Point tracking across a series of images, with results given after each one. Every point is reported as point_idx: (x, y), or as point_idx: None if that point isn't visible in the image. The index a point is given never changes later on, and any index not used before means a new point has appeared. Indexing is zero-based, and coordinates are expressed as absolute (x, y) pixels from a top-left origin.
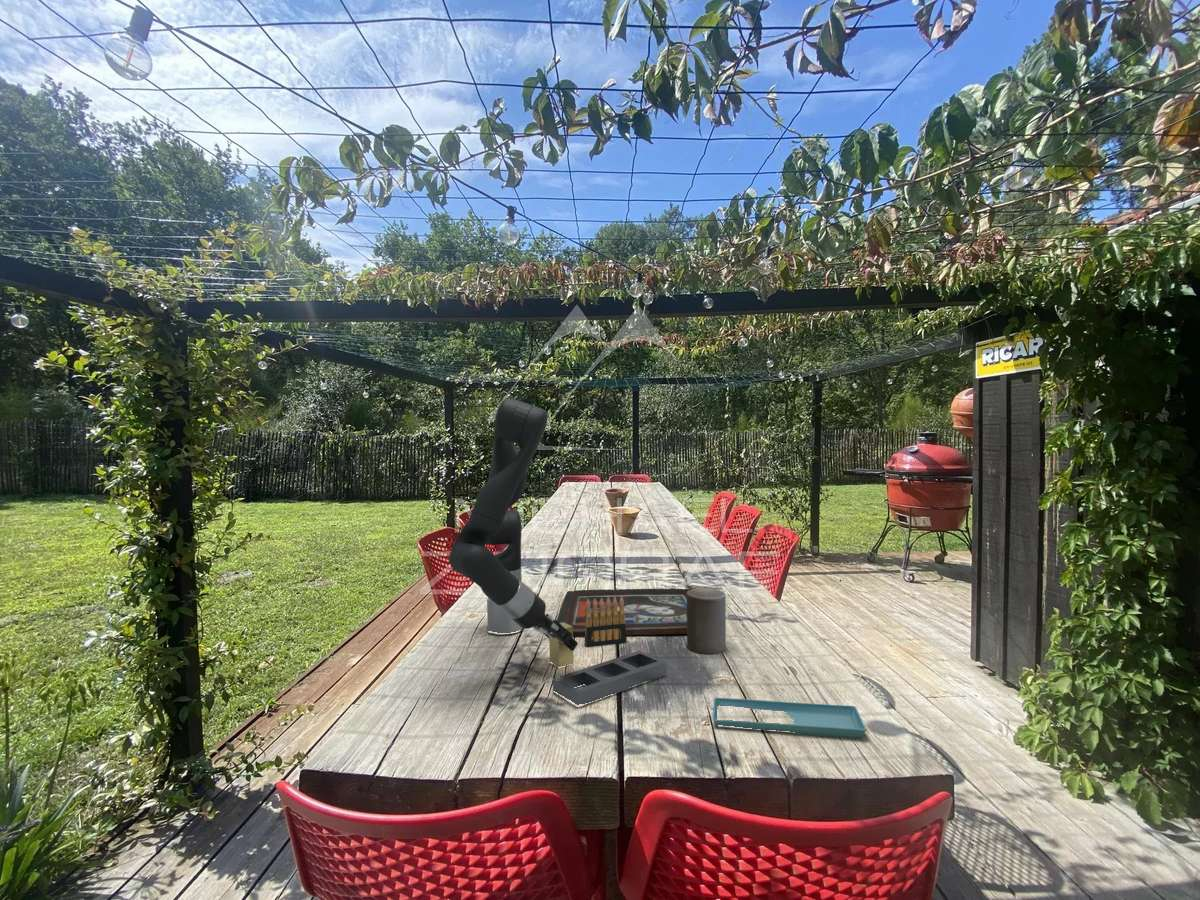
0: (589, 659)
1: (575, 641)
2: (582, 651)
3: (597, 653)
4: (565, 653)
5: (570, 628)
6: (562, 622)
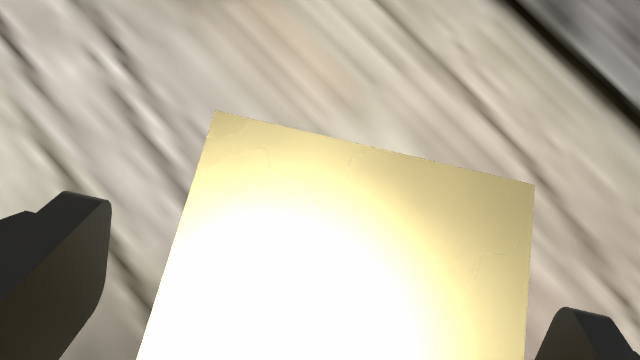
0: None
1: (621, 348)
2: (249, 69)
3: (371, 41)
4: None
5: (522, 242)
6: (214, 127)
